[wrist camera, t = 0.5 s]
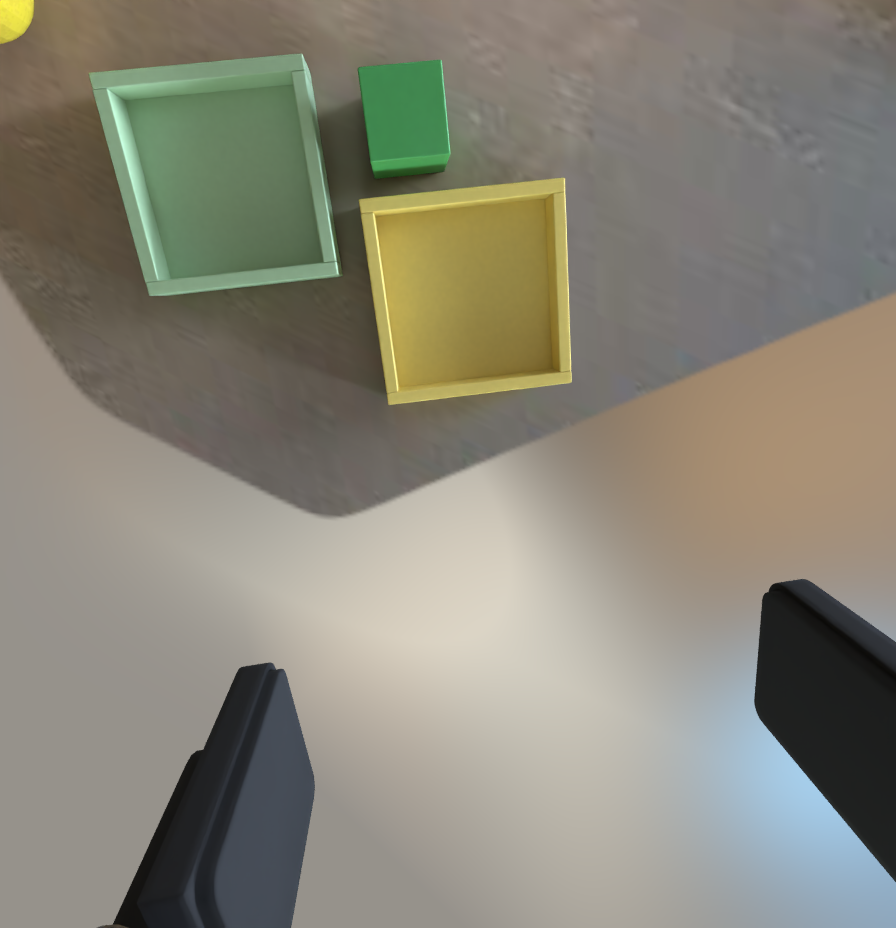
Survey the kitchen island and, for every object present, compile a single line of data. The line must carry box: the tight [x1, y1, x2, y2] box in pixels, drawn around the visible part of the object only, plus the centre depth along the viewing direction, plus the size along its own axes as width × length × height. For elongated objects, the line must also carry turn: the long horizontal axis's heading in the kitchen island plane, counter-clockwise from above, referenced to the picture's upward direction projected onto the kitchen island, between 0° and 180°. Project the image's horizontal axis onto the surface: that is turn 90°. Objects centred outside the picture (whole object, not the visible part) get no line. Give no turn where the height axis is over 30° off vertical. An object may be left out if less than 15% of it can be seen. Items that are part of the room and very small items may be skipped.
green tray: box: [89, 54, 343, 296], centre depth 32 cm, size 12×12×3 cm
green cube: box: [358, 60, 450, 179], centre depth 31 cm, size 4×4×4 cm
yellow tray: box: [359, 178, 572, 405], centre depth 35 cm, size 13×13×3 cm
